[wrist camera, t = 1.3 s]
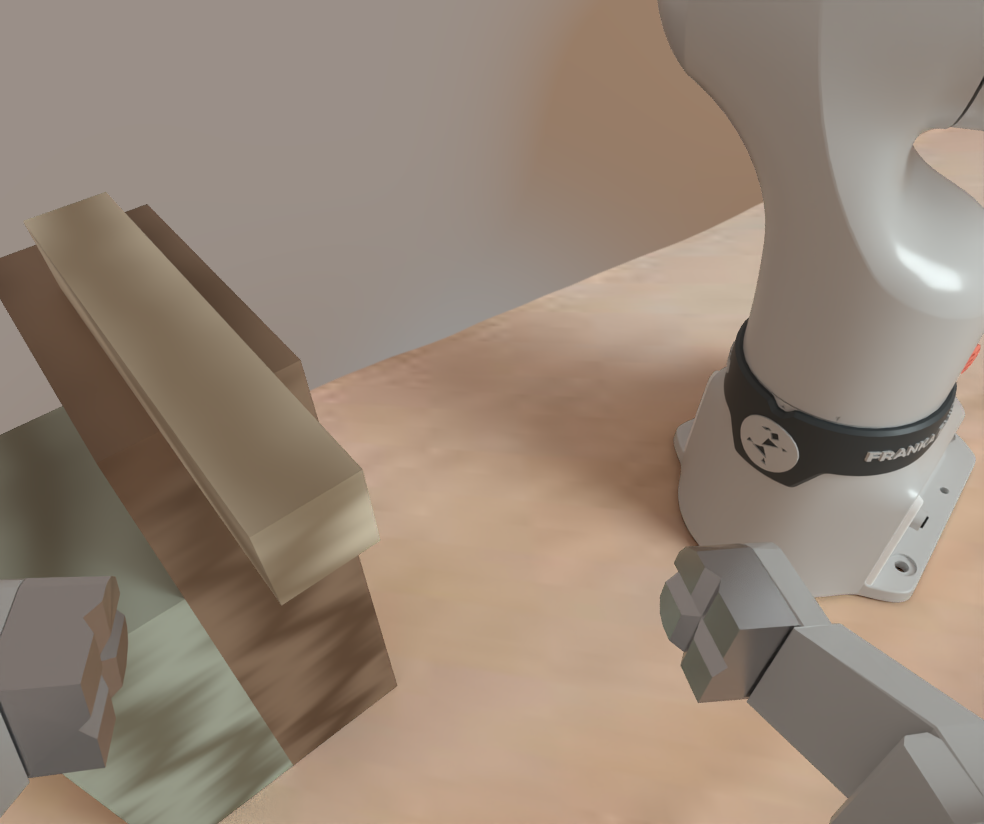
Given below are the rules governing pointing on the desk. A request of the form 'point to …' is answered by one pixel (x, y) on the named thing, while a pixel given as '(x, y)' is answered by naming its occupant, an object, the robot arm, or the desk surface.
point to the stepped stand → (174, 571)
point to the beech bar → (212, 399)
